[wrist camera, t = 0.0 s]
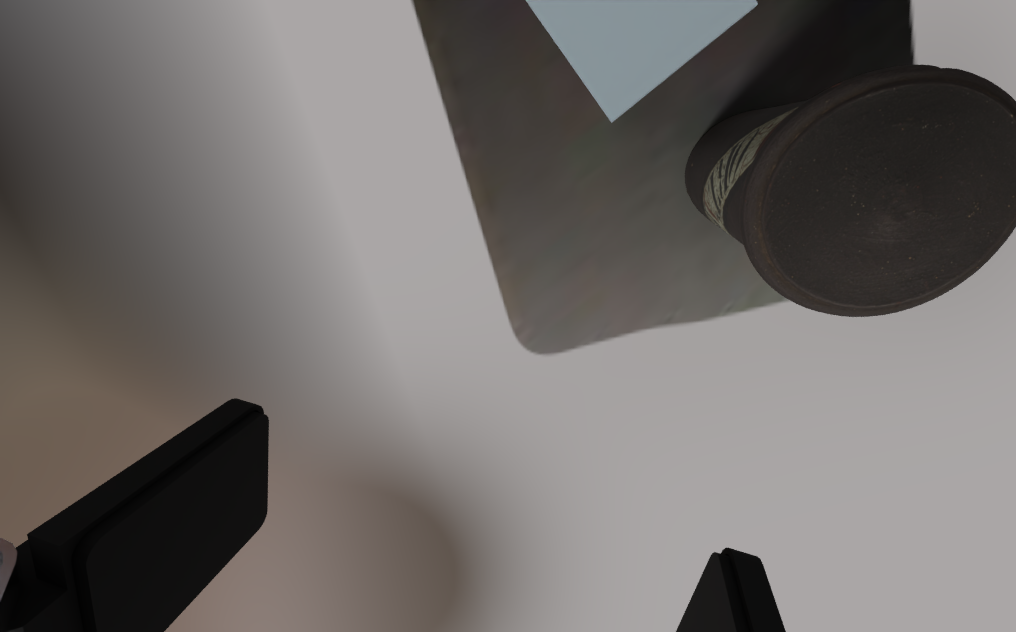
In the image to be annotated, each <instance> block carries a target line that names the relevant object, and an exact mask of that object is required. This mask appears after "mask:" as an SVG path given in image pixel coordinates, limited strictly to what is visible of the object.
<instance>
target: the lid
mask: <svg viewBox="0 0 1016 632" xmlns="http://www.w3.org/2000/svg"><path fill="white" fill-rule="evenodd" d="M526 1H527V3H528V4H529V6H530V7H531V9H532V10H533V11H534V13H535V14H536V16H537V17H538V19H539V20H540V21H541V23H542V24H543V26H544V27H545V29H546V30H547V31H548V33H549V34H550V36H551V37H552V38H553V40H554V41H555V43H556V44H557V46H558V47H559V48H560V50H561V51H562V53H563V54H564V56H565V57H566V58H567V60H568V61H569V63H570V64H571V66H572V67H573V68H574V70H575V71H576V73H577V74H578V76H579V77H580V78H581V80H582V81H583V83H584V84H585V86H586V87H587V88H588V90H589V91H590V93H591V94H592V95H593V97H594V98H595V100H596V101H597V103H598V104H599V105H600V107H601V108H602V110H603V111H604V113H605V114H606V115H607V117H608V118H609V120H610V121H611V123H612V122H614V121H615V120H616V119H617V118H619V117H620V116H621V115H622V114H623V113H625V112H626V111H627V110H628V109H630V108H631V107H632V106H633V105H635V104H636V103H637V102H638V101H640V100H641V99H642V98H643V97H645V96H646V95H647V94H648V93H649V92H651V91H652V90H653V89H654V88H656V87H657V86H658V85H659V84H661V83H662V82H663V81H664V80H666V79H667V78H668V77H669V76H671V75H672V74H673V73H674V72H675V71H677V70H678V69H679V68H680V67H682V66H683V65H684V64H685V63H687V62H688V61H689V60H690V59H692V58H693V57H694V56H695V55H697V54H698V53H699V52H700V51H701V50H703V49H704V48H705V47H706V46H708V45H709V44H710V43H711V42H713V41H714V40H715V39H716V38H718V37H719V36H720V35H721V34H723V33H724V32H725V31H726V30H727V29H729V28H730V27H731V26H732V25H734V24H735V23H736V22H737V21H739V20H740V19H741V18H742V17H744V16H745V15H746V14H747V13H749V12H750V11H751V10H752V9H753V8H755V7H756V6H757V5H758V3H757V2H756V0H526Z"/></svg>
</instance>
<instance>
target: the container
mask: <svg viewBox="0 0 1016 632" xmlns="http://www.w3.org/2000/svg"><path fill="white" fill-rule="evenodd" d="M685 183H686V188H687V193H688V194H689V196H690V198H691V200H692V202H693V203H694V205H695V206H696V208H697V209H698V210H699V211H700V212H701V213H702V214H703V215H704V216H705V217H706V218H708V219H709V220H710V221H711V222H713V223H714V224H716V225H717V226H719V227H720V228H721V229H723V230H724V231H725V232H727V233H728V234H729V235H730V236H732V237H733V238H735V239H737V240H738V241H739V242H740V243H742V244H743V245H744V247H745V250H746V252H747V255H748V257H749V259H750V261H751V263H752V264H753V266H754V268H755V269H756V271H757V272H758V273H759V275H760V276H761V277H762V278H763V279H764V280H765V281H766V282H767V283H768V284H769V285H770V286H771V287H772V288H773V289H774V290H775V291H777V292H778V293H779V294H781V295H782V296H784V297H785V298H787V299H789V300H791V301H793V302H794V303H796V304H798V305H801V306H803V307H805V308H808V309H811V310H815V311H818V312H823V313H827V314H833V315H839V316H849V317H864V316H878V315H885V314H890V313H895V312H899V311H903V310H906V309H910V308H913V307H915V306H918V305H921V304H923V303H925V302H928V301H930V300H933V299H935V298H936V297H939V296H941V295H943V294H944V293H946V292H948V291H949V290H951V289H953V288H954V287H956V286H957V285H959V284H960V283H962V282H963V281H964V280H966V279H967V278H968V277H970V276H971V275H973V274H974V273H975V272H976V271H977V270H979V269H980V268H981V267H982V266H983V265H984V264H985V263H986V262H987V261H988V260H989V259H990V258H991V257H992V256H993V255H994V254H995V253H996V252H997V251H998V249H999V248H1000V247H1001V246H1002V245H1003V244H1004V242H1005V241H1006V240H1007V239H1008V237H1009V236H1010V234H1011V233H1012V232H1013V230H1014V228H1015V227H1016V101H1015V100H1014V99H1013V98H1012V97H1011V96H1010V95H1009V94H1007V93H1006V92H1005V91H1004V90H1002V89H1001V88H999V87H998V86H997V85H995V84H993V83H992V82H990V81H988V80H987V79H985V78H982V77H980V76H977V75H975V74H972V73H970V72H966V71H963V70H959V69H952V68H939V67H936V66H930V65H900V66H894V67H888V68H883V69H878V70H874V71H870V72H867V73H864V74H860V75H858V76H855V77H852V78H849V79H847V80H845V81H842V82H840V83H838V84H836V85H834V86H832V87H830V88H828V89H826V90H824V91H822V92H821V93H819V94H817V95H816V96H814V97H812V98H811V99H809V100H805V101H800V102H794V103H791V104H787V105H781V106H776V107H770V108H765V109H757V110H752V111H747V112H744V113H740V114H737V115H734V116H731V117H729V118H727V119H725V120H723V121H721V122H720V123H718V124H717V125H715V126H714V127H712V128H711V129H710V130H709V131H708V132H707V133H706V134H705V135H704V136H703V137H702V138H701V139H700V140H699V141H698V143H697V144H696V145H695V147H694V149H693V150H692V152H691V154H690V156H689V159H688V162H687V165H686V170H685Z"/></svg>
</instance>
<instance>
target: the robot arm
mask: <svg viewBox="0 0 1016 632" xmlns="http://www.w3.org/2000/svg"><path fill="white" fill-rule="evenodd" d="M268 430H269V420H268V417H267V415H265V414H264V411H263V408H262V407H261V406H259V405H256V404H253V403H250V402H246V401H243V400H240V399H231V400H229V401H227V402H226V403H224V404H223V405H221V406H220V407H218V408H217V409H215V410H214V411H212V412H211V413H209V414H208V415H206V416H205V417H203V418H202V419H200V420H199V421H197V422H196V423H194V424H193V425H191V426H190V427H188V428H187V429H185V430H184V431H182V432H181V433H179V434H177V435H176V436H174V437H173V438H172V439H170V440H168V441H167V442H166V443H164V444H162V445H161V446H160V447H158V448H156V449H155V450H154V451H152V452H150V453H149V454H147V455H146V456H144V457H143V458H141V459H140V460H139V461H137V462H135V463H134V464H132V465H131V466H129V467H128V468H126V469H125V470H123V471H122V472H120V473H119V474H117V475H116V476H114V477H113V478H111V479H110V480H108V481H107V482H105V483H104V484H102V485H101V486H99V487H98V488H96V489H95V490H93V491H92V492H90V493H89V494H87V495H86V496H84V497H83V498H81V499H80V500H78V501H77V502H75V503H74V504H72V505H71V506H69V507H68V508H66V509H65V510H63V511H61V512H60V513H58V514H57V515H55V516H54V517H53V518H51V519H49V520H48V521H46V522H45V523H43V524H42V525H40V526H39V527H37V528H36V529H34V530H33V531H32V532H30V533H28V534H27V536H28V540H27V541H25V542H24V543H22V544H21V545H19V546H18V547H16V548H15V547H14V545H13V544H12V543H10V542H8V541H6V540H4V539H2V538H0V632H164V631H165V630H166V629H167V628H168V627H169V625H170V624H172V623H173V621H174V620H175V619H176V618H177V617H178V616H179V615H180V614H181V613H182V612H183V611H184V610H185V609H186V607H187V606H188V605H189V604H190V603H191V602H192V601H193V600H194V599H195V598H196V597H197V595H199V593H200V592H201V591H202V590H203V589H204V588H205V587H206V586H207V585H208V584H209V583H210V582H211V580H212V579H213V578H214V577H215V576H216V575H217V574H218V573H219V572H220V571H221V570H222V568H224V567H225V565H226V564H227V563H228V562H229V561H230V560H231V559H232V558H233V557H234V556H235V554H236V553H237V552H238V551H239V550H240V549H241V548H242V547H243V546H244V545H245V544H246V543H247V542H248V541H249V540H250V539H251V537H252V536H253V535H254V534H255V533H256V532H257V531H258V530H259V529H260V527H261V526H262V524H263V522H264V520H265V518H266V515H267V501H268V500H267V498H268V436H269V435H268V434H269V432H268ZM676 632H786V631H785V628H784V625H783V622H782V620H781V617H780V614H779V611H778V608H777V605H776V602H775V599H774V596H773V593H772V590H771V587H770V584H769V581H768V579H767V575H766V572H765V569H764V566H763V564H762V562H761V560H760V558H758V557H757V556H753V555H750V554H747V553H744V552H740V551H737V550H734V549H731V548H725V549H724V550H723V551H722V553H721V554H719V553H716V552H714V553H713V554H712V555H711V557H710V559H709V561H708V563H707V565H706V567H705V569H704V572H703V574H702V576H701V578H700V581H699V583H698V585H697V587H696V589H695V591H694V593H693V596H692V598H691V600H690V602H689V604H688V607H687V609H686V611H685V613H684V615H683V617H682V620H681V622H680V624H679V626H678V628H677V631H676Z"/></svg>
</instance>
